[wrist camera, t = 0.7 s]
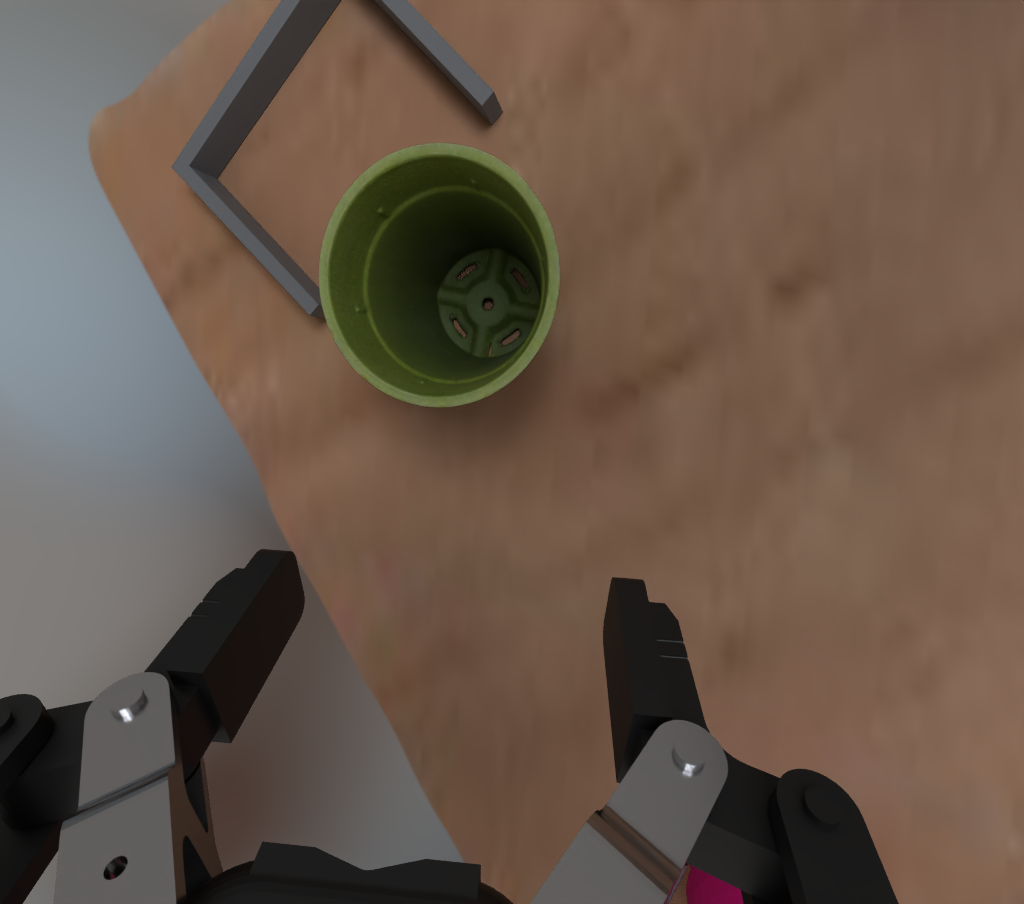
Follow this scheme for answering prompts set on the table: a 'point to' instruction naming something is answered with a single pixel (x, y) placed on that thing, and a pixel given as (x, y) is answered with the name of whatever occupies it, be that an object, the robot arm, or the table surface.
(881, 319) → the table surface
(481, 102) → the bay
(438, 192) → the plant pot
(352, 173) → the table surface
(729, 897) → the pepper mill
